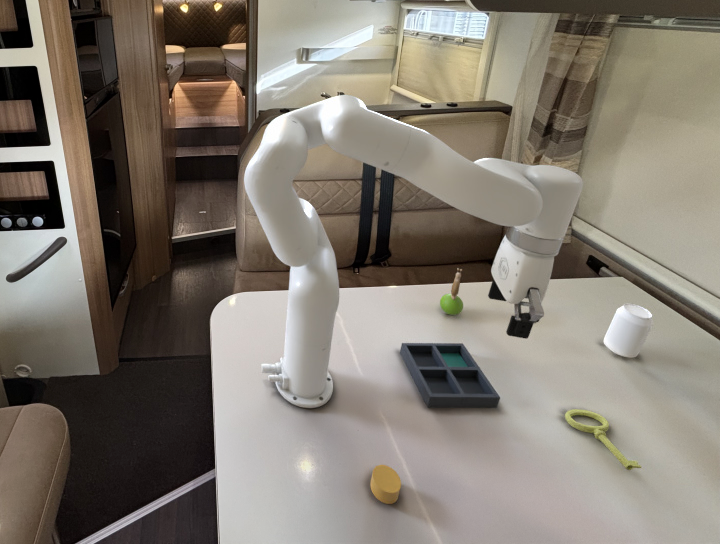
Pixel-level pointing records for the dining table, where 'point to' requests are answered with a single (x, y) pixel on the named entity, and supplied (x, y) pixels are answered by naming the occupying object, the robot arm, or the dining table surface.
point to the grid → (448, 376)
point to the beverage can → (628, 330)
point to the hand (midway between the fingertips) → (506, 316)
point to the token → (385, 484)
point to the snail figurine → (452, 298)
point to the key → (599, 434)
